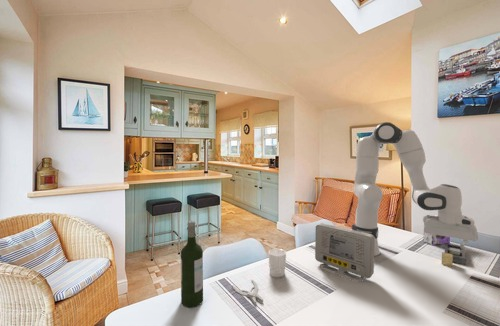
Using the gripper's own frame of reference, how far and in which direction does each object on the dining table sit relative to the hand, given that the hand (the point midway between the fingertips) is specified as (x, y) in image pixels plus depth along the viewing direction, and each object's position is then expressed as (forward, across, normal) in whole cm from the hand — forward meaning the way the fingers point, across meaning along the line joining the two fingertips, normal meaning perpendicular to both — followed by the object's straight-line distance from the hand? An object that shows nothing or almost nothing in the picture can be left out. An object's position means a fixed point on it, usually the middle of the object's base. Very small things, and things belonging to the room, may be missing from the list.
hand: (449, 245), depth 115 cm
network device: (+8, -38, -41) cm, 57 cm away
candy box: (+10, -6, +32) cm, 34 cm away
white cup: (+8, -60, -62) cm, 87 cm away
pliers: (+8, -60, -81) cm, 101 cm away
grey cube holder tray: (+10, +2, +15) cm, 18 cm away
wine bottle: (+7, -73, -99) cm, 123 cm away
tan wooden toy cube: (+10, -1, 0) cm, 10 cm away
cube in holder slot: (+10, +2, +10) cm, 14 cm away
